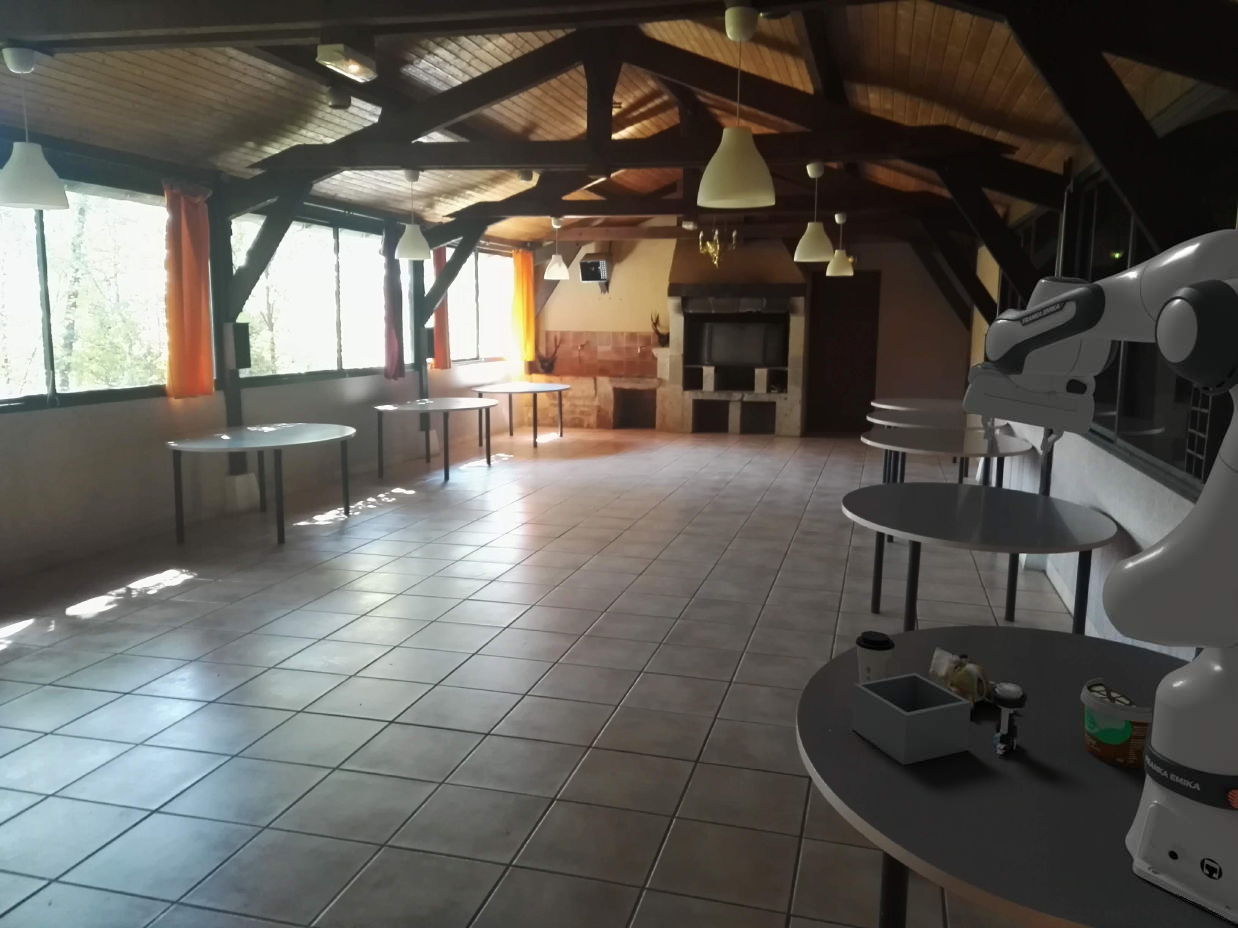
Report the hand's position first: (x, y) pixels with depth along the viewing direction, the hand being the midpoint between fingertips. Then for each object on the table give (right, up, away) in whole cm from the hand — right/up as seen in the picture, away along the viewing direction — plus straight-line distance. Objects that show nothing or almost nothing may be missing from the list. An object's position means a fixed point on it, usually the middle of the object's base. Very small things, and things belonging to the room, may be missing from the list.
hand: (1015, 444), depth 152 cm
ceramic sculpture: (-8, -46, +4) cm, 47 cm away
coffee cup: (-22, -45, +9) cm, 51 cm away
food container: (+6, -49, -16) cm, 52 cm away
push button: (-8, -49, -14) cm, 51 cm away
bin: (-22, -48, -11) cm, 54 cm away
